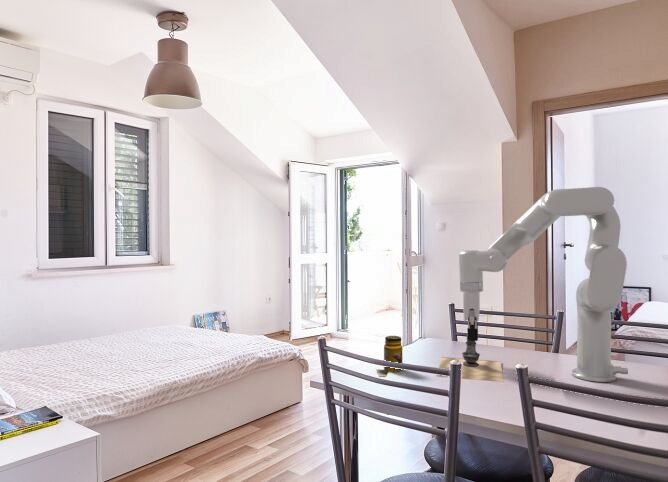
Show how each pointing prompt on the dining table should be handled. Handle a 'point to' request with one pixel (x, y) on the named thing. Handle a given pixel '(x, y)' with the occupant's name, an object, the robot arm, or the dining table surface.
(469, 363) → the dark grey tall piece
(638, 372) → the dining table surface
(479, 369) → the board
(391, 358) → the condiment
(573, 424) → the dining table surface
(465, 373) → the laid floor planks
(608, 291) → the robot arm
